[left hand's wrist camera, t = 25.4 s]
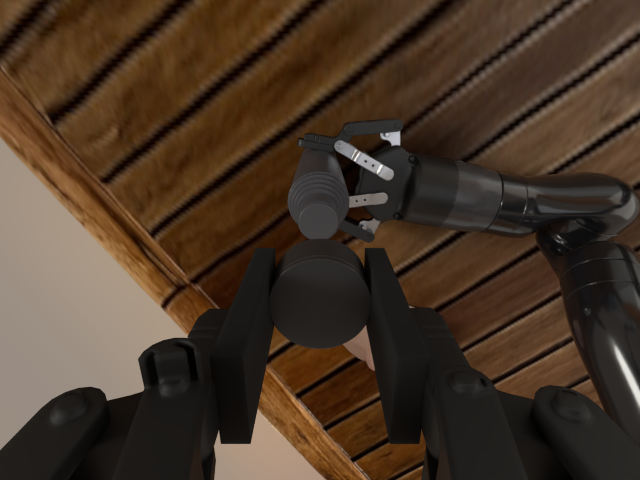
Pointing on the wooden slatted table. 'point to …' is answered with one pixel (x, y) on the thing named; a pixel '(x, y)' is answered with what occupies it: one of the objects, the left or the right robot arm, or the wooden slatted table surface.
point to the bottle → (318, 194)
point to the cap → (320, 294)
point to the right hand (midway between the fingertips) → (294, 166)
